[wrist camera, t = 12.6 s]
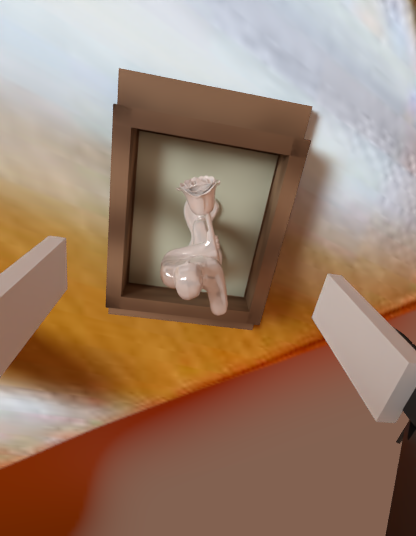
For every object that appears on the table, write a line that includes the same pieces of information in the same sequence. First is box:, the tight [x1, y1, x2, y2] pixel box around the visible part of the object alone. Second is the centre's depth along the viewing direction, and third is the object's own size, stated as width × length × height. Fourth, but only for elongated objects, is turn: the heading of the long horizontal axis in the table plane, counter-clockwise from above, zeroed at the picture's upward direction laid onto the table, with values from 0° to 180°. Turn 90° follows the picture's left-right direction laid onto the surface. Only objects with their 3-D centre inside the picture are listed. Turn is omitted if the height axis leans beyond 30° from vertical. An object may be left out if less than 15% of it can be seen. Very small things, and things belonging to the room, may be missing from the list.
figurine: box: [160, 175, 228, 316], centre depth 20 cm, size 5×9×12 cm, turn 15°
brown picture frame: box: [106, 68, 312, 330], centre depth 25 cm, size 20×14×4 cm
